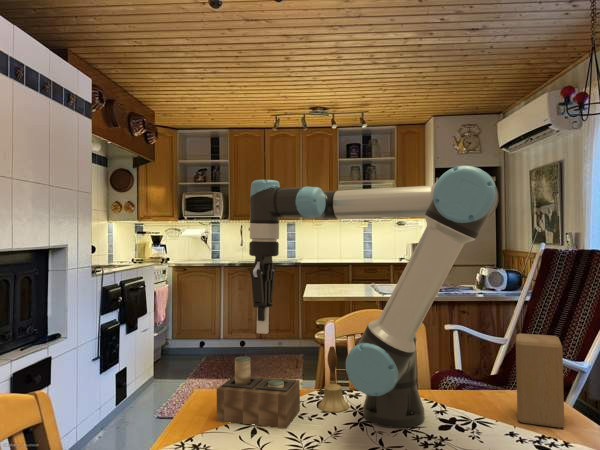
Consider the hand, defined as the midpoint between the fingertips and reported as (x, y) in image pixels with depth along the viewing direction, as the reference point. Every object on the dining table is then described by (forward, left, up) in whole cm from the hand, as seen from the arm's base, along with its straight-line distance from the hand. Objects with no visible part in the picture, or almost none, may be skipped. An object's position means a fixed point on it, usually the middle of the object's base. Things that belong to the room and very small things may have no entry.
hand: (262, 332), depth 120 cm
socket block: (+1, 0, -21) cm, 21 cm away
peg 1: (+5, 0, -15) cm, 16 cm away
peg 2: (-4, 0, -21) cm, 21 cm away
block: (-67, -15, -21) cm, 72 cm away
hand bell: (-16, -11, -21) cm, 29 cm away
